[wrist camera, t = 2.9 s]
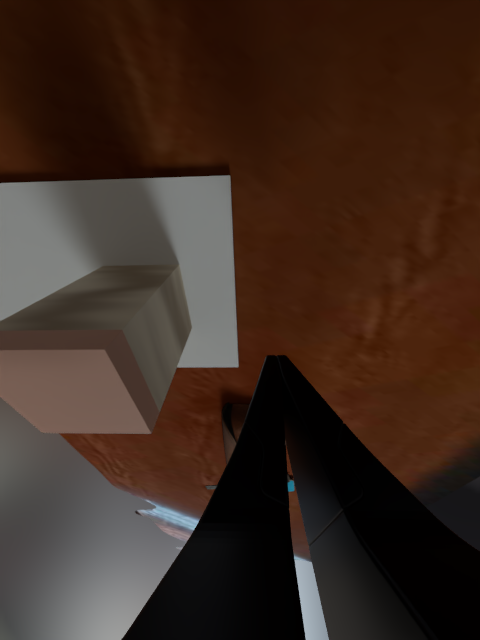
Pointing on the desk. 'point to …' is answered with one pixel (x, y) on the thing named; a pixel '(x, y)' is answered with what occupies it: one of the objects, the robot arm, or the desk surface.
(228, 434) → the sunglasses case
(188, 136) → the desk surface
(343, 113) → the desk surface
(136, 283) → the birch block
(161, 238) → the grey mat
